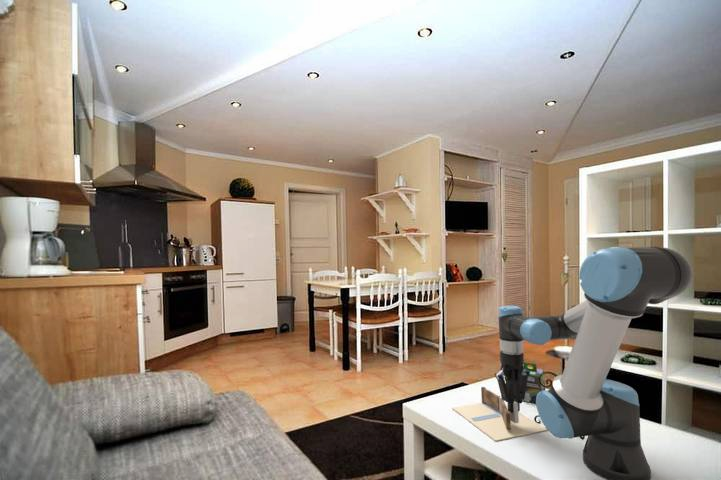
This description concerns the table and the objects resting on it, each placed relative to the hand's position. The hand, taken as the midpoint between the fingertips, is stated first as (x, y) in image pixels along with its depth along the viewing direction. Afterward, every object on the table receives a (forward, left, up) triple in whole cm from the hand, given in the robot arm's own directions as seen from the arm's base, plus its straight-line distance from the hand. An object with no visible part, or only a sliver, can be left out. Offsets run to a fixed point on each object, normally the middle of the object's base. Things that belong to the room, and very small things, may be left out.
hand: (514, 421), depth 119 cm
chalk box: (+17, -23, -2) cm, 29 cm away
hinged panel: (+2, +2, -1) cm, 3 cm away
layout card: (+7, +1, -2) cm, 8 cm away
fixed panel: (+15, -2, -2) cm, 15 cm away
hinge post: (+9, -2, -2) cm, 9 cm away
